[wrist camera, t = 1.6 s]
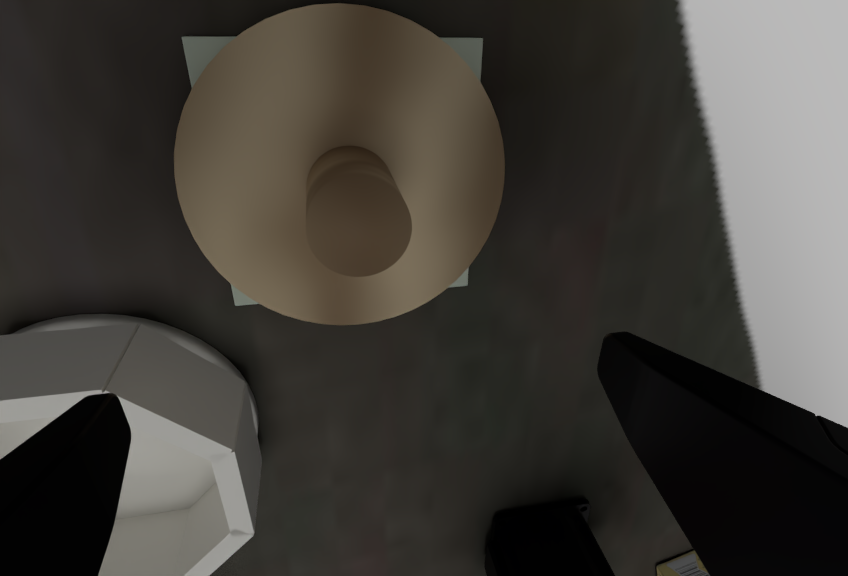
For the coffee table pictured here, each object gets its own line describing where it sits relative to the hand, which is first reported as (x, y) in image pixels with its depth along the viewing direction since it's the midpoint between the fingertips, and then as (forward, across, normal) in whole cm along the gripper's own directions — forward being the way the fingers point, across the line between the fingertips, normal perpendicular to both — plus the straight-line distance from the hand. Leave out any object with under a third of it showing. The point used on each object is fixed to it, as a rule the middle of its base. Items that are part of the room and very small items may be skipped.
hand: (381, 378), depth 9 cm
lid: (+12, 0, 0) cm, 12 cm away
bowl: (+12, +11, +11) cm, 19 cm away
